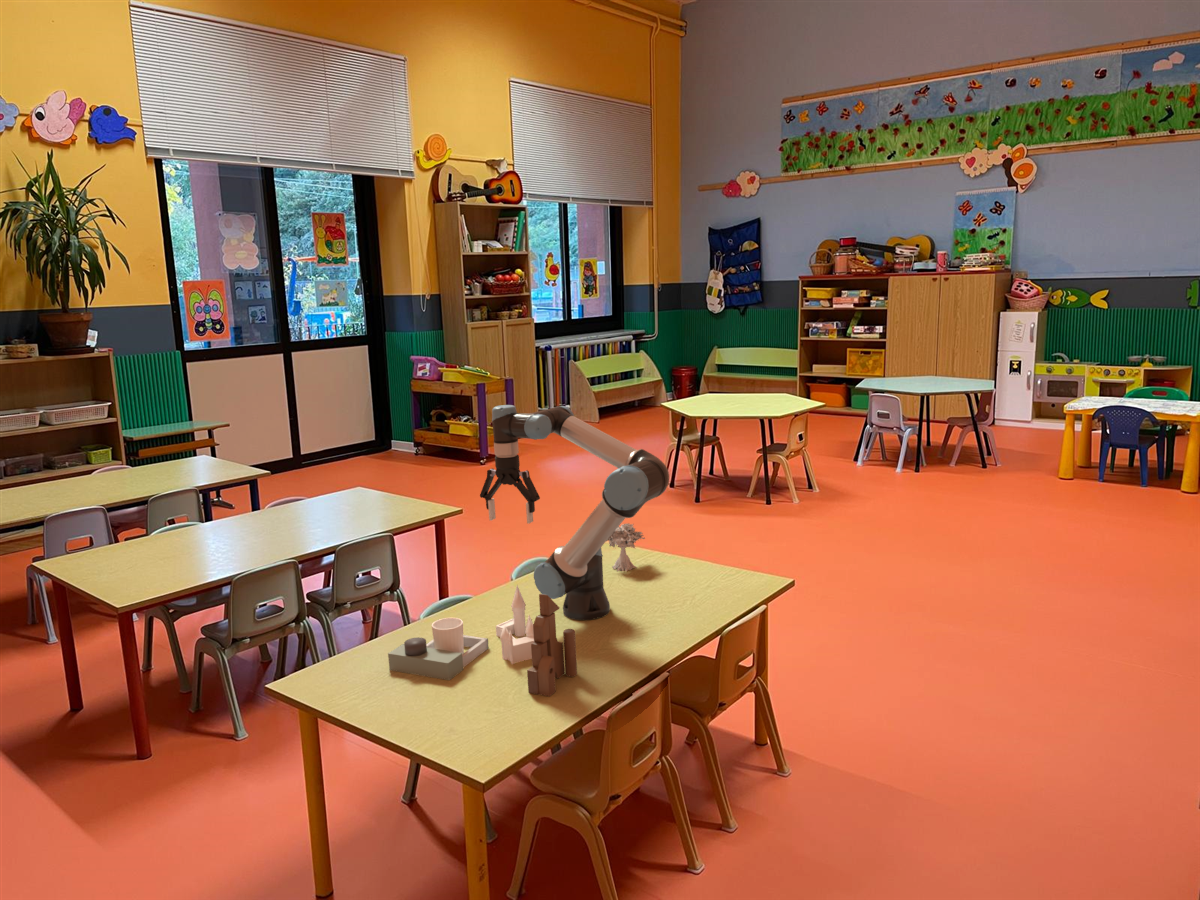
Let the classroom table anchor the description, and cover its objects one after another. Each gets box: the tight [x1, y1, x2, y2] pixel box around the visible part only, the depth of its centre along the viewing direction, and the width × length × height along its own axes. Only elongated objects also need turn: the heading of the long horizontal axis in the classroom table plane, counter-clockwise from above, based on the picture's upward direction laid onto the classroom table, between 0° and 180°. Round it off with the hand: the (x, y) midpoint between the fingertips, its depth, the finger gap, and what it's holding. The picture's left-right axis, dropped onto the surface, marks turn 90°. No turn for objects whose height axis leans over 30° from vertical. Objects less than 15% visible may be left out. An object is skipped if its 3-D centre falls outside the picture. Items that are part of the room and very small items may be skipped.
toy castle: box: [495, 584, 534, 665], centre depth 262 cm, size 14×25×16 cm, turn 27°
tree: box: [606, 522, 646, 572], centre depth 327 cm, size 18×16×17 cm
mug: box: [431, 617, 465, 654], centre depth 257 cm, size 11×9×10 cm
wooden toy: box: [526, 593, 578, 697], centre depth 235 cm, size 16×7×25 cm, turn 152°
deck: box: [387, 634, 489, 681], centre depth 255 cm, size 20×22×8 cm
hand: (511, 521), depth 280 cm, fingers open, 13 cm apart
